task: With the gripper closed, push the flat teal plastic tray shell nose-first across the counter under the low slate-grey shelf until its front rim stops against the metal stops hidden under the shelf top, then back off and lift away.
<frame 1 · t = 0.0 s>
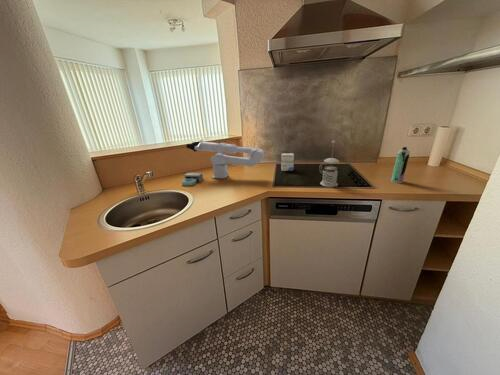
hand: (189, 144, 136), 22 cm above the worktop, tool horizontal, fingers open, 7 cm apart
ink box: (287, 170, 148), on the worktop
tray shell: (189, 183, 128), on the worktop
spray can: (396, 181, 118), on the worktop
french press: (327, 183, 119), on the worktop
low shelf: (194, 180, 134), on the worktop
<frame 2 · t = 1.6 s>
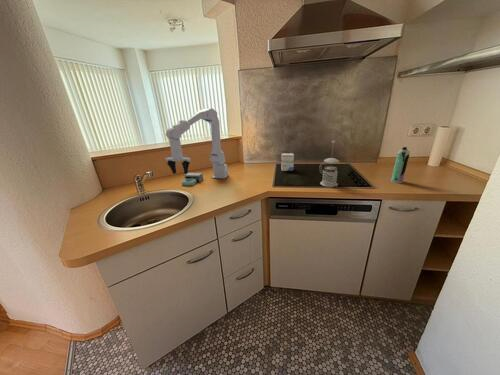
hand: (180, 173, 118), 9 cm above the worktop, tool pointing down, fingers open, 7 cm apart
nothing on the worktop moved.
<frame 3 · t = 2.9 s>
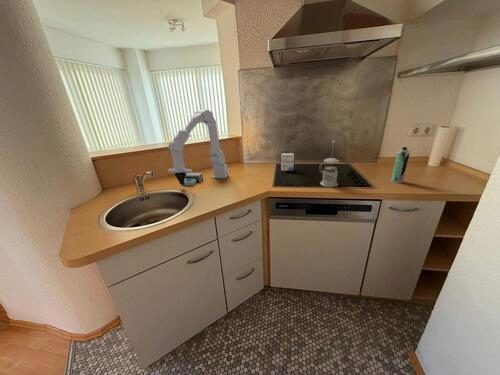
hand: (182, 184, 120), 3 cm above the worktop, tool pointing down, fingers closed
nothing on the worktop moved.
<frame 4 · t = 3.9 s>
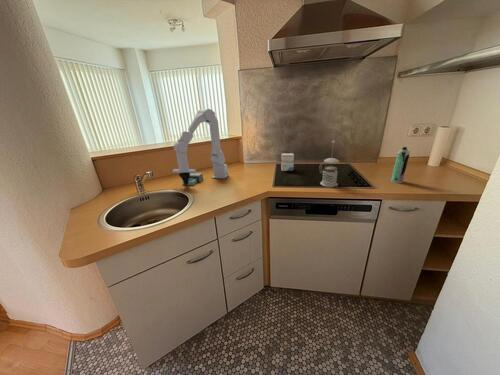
hand: (186, 184, 125), 1 cm above the worktop, tool pointing down, fingers closed, pressing on tray shell
tray shell: (190, 183, 129), on the worktop, touching gripper
everything else where it was.
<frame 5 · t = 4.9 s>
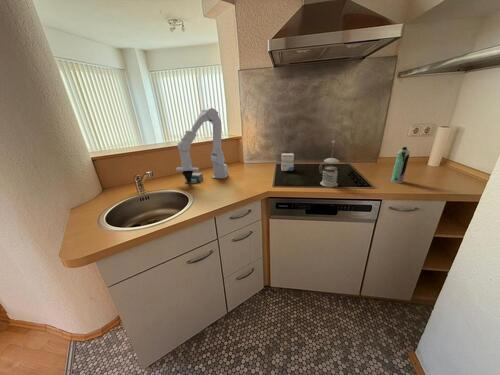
hand: (189, 182, 128), 1 cm above the worktop, tool pointing down, fingers closed, pressing on tray shell
tray shell: (192, 181, 132), on the worktop, touching gripper, low shelf
everything else where it was.
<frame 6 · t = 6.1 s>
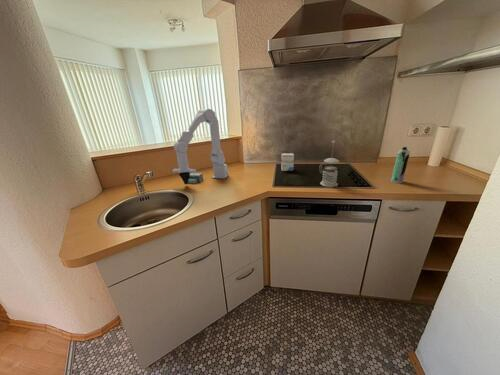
hand: (186, 183, 125), 1 cm above the worktop, tool pointing down, fingers closed
tray shell: (192, 181, 132), on the worktop
everything else where it was.
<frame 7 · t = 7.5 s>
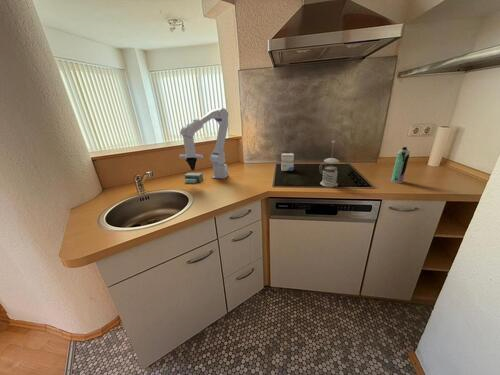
hand: (193, 169, 124), 9 cm above the worktop, tool pointing down, fingers closed
nothing on the worktop moved.
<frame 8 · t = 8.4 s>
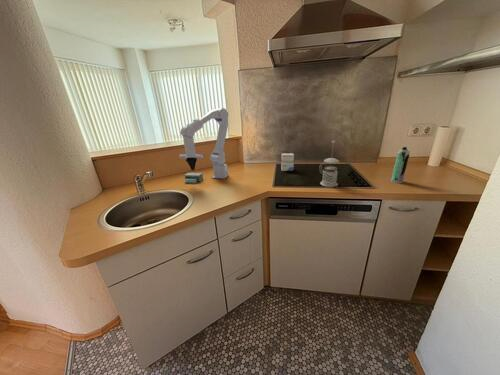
hand: (193, 169, 124), 9 cm above the worktop, tool pointing down, fingers closed
nothing on the worktop moved.
at the end: tray shell 0.1 cm from the target spot on the low shelf, point 0.0 cm above the low shelf's base; tray shell tilted 0°; tray shell moved 4.3 cm from its start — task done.
